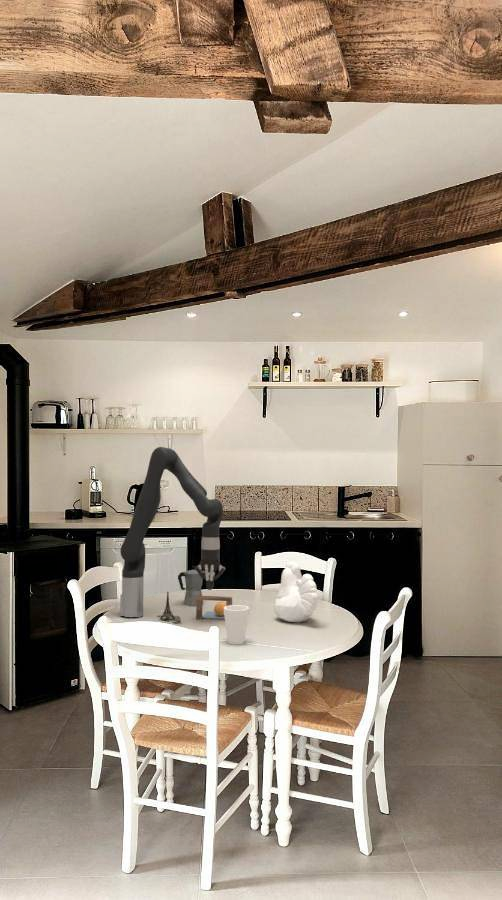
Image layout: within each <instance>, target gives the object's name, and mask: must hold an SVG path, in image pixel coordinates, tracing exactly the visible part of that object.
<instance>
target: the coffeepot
mask: <svg viewBox="0 0 502 900" xmlns="http://www.w3.org/2000/svg"><path fill="white" fill-rule="evenodd" d="M195 567H196V565H192V566H191V568H192V569H191V570H190V569H189V570H186V571H181V572H179V574H178V575H177V580H178V582H179V587H180V590H181V591H185V594H184V600H183V604H185V605H184V606H186V605H187V607H196V597H197V596H203V592H202V587H203V580H204V579H202V578H201V576H200V575H199V574H198V572H197V571H196V569H195ZM202 572H203V573H204V574H205V571H204V570H202ZM182 577H184V583H185V586H186V587H184V584H183V580H182V579H183V578H182ZM203 605H204V600H202V606H203Z"/></svg>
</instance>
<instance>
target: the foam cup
mask: <svg viewBox="0 0 502 900" xmlns="http://www.w3.org/2000/svg"><path fill="white" fill-rule="evenodd" d="M249 609H250V607H248V606H246V605H241V604H240V605H239V604H237V605H236V604H232V605H230V606H226V607H224V616H225V619H224V623H225V624H224V625H225V630H226V632H225V633H226V638H227V639H226V641H227V643H228V644H230V645H236V646H237V645H243V644H244V643H245V642H246V641H245V640H246V634H247V626H248V621H249V620H248V618H249V614H250V610H249Z"/></svg>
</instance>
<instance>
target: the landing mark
mask: <svg viewBox="0 0 502 900" xmlns="http://www.w3.org/2000/svg"><path fill="white" fill-rule="evenodd" d="M202 619H215V620H216V619H218V620H225V616H218V615H216V613H215V612H214V610H213V611H212V610H211V611H210V610H207V611H206V612H204V614H202Z"/></svg>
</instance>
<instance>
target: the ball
mask: <svg viewBox="0 0 502 900" xmlns="http://www.w3.org/2000/svg"><path fill="white" fill-rule="evenodd" d="M224 607H226V603H225V602H224V601H220V602H219V601H218V602H217V603H216V604H215V605H214V608H213V612H215V613H216V615H218V616H224Z"/></svg>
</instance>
